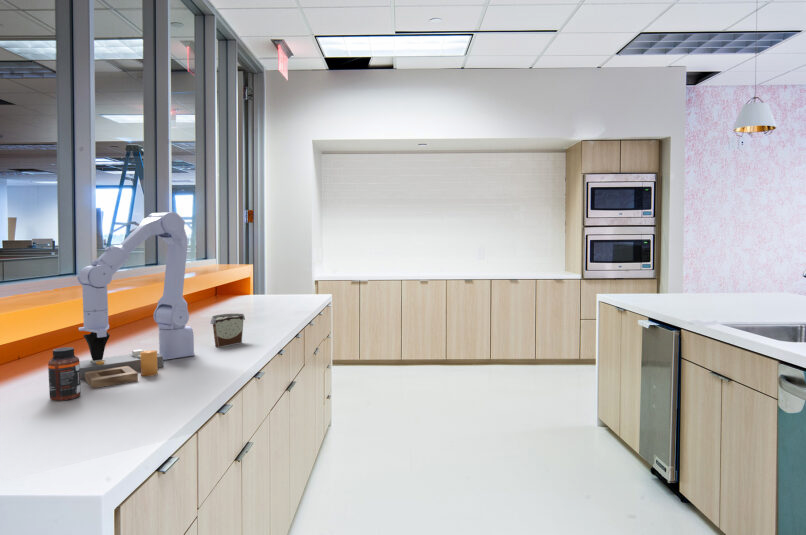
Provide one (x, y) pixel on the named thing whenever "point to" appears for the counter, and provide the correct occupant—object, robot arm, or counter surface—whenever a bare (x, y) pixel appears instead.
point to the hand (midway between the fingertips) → (97, 360)
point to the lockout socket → (111, 376)
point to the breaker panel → (114, 363)
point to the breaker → (136, 352)
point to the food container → (227, 329)
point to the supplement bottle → (64, 375)
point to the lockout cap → (149, 363)
